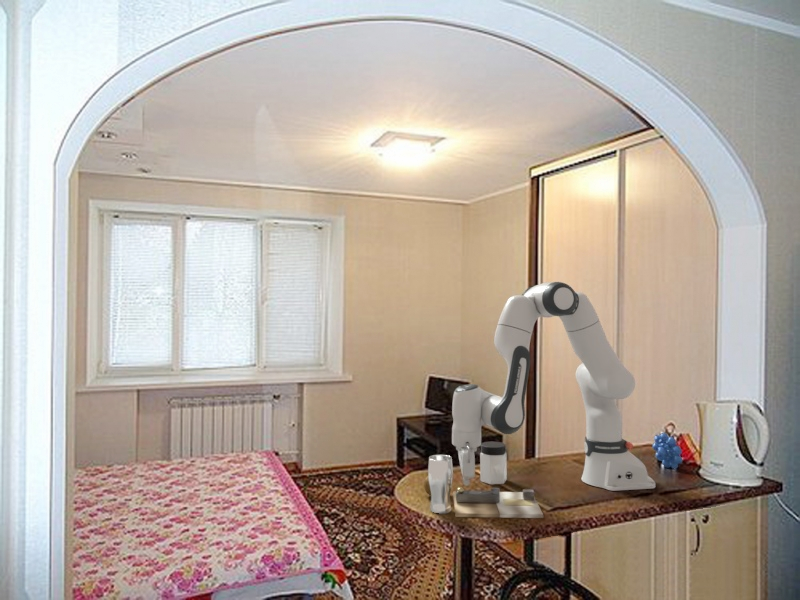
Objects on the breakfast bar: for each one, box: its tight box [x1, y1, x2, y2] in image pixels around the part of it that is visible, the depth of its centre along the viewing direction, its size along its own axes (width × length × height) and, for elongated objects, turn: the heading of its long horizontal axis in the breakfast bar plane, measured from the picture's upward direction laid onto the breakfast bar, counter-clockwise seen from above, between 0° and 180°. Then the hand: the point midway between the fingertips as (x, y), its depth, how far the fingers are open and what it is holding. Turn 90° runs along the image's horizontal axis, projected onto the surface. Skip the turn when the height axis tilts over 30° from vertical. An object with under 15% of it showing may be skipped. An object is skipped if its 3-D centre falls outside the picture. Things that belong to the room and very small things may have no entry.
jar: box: [479, 441, 508, 486], centre depth 191 cm, size 9×8×12 cm
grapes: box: [651, 432, 683, 470], centre depth 204 cm, size 12×7×12 cm, turn 28°
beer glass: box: [427, 454, 454, 515], centre depth 165 cm, size 7×7×15 cm
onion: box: [423, 475, 431, 497], centre depth 177 cm, size 8×8×8 cm
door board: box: [452, 488, 544, 519], centre depth 168 cm, size 24×18×4 cm
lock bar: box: [455, 486, 501, 503], centre depth 169 cm, size 13×3×4 cm, turn 87°
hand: (466, 484), depth 176 cm, fingers closed
